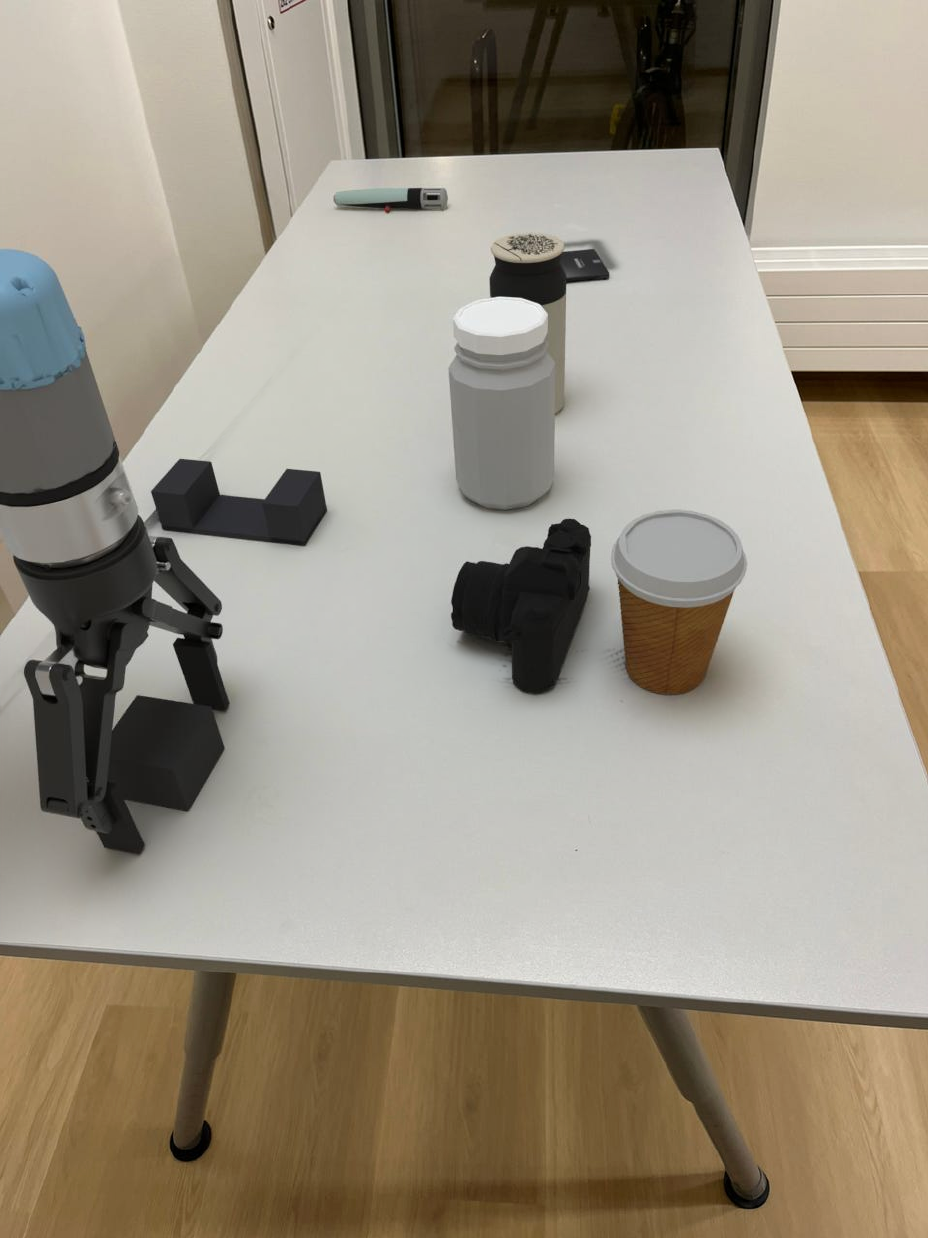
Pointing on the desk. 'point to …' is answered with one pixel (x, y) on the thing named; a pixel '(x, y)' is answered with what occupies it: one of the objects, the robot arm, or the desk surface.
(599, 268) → the solid state drive
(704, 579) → the disposable coffee cup
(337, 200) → the teal pen-shaped device
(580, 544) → the film camera
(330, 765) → the desk surface
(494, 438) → the jar
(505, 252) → the travel mug
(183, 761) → the small block
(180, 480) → the notched block
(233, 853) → the desk surface
